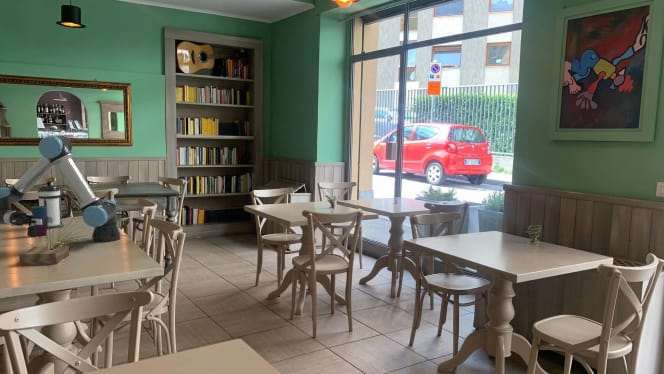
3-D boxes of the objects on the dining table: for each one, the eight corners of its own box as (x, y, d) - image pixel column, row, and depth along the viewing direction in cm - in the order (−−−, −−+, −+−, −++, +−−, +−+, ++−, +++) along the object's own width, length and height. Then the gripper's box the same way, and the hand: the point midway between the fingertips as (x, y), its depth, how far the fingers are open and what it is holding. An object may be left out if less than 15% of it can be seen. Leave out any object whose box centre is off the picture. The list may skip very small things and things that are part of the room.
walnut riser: (69, 255, 254) (68, 245, 253) (56, 263, 238) (55, 253, 238) (34, 256, 252) (34, 246, 251) (19, 265, 236) (19, 254, 236)
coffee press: (58, 229, 320) (55, 182, 316) (33, 229, 320) (30, 182, 317) (72, 224, 337) (70, 179, 334) (48, 224, 337) (46, 179, 334)
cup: (33, 237, 257) (31, 208, 255) (33, 235, 263) (31, 206, 261) (48, 236, 260) (46, 207, 258) (48, 233, 266) (46, 205, 264)
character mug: (44, 234, 306) (43, 212, 304) (43, 236, 299) (42, 214, 298) (23, 235, 301) (21, 214, 299) (22, 238, 294) (21, 216, 293)
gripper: (32, 222, 277) (63, 224, 268) (-2, 228, 259) (30, 231, 250) (31, 208, 276) (62, 210, 267) (-3, 214, 258) (29, 216, 250)
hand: (47, 220), depth 259 cm, fingers closed on cup, 6 cm apart
